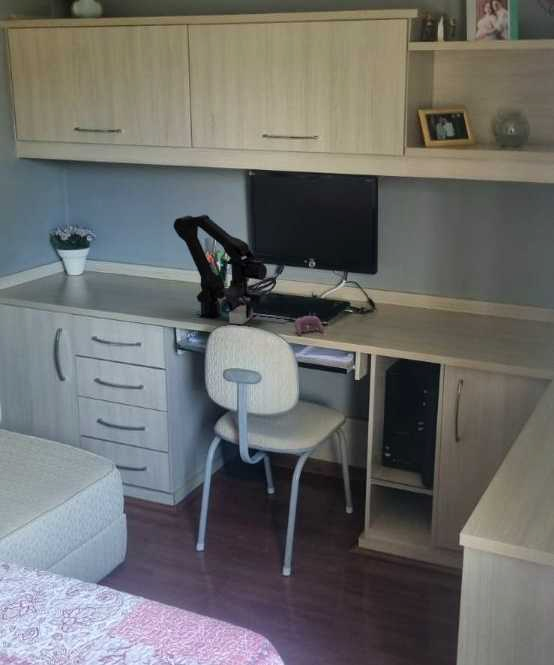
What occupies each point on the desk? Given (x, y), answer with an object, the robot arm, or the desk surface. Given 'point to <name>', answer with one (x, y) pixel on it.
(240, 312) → the card deck box
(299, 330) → the video game controller
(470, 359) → the desk surface
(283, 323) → the desk mat
